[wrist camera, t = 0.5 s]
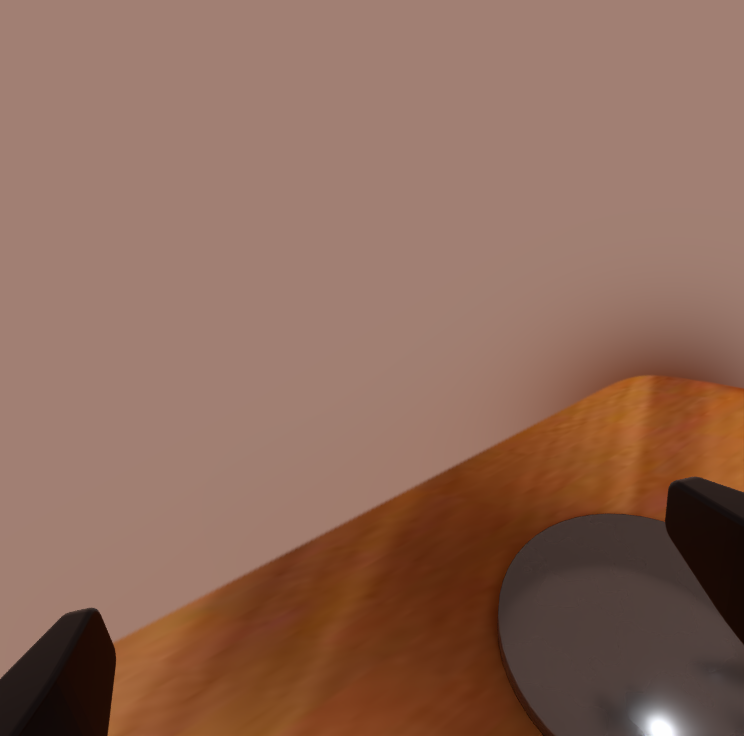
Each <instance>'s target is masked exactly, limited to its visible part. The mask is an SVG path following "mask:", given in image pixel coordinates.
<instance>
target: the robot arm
mask: <svg viewBox="0 0 744 736" xmlns="http://www.w3.org/2000/svg"><path fill="white" fill-rule="evenodd" d="M665 525H666V530H667V533H668V535H669V537H670V539H671V540H672V542H673V543H674V545H675V546H676V548H677V550H678V551H679V553H680V554H681V556H682V557H683V559H684V560H685V562H686V563H687V565H688V566H689V568H690V569H691V571H692V572H693V574H694V575H695V577H696V579H697V580H698V582H699V583H700V585H701V586H702V588H703V589H704V591H705V592H706V594H707V595H708V597H709V598H710V600H711V601H712V603H713V604H714V606H715V607H716V609H717V610H718V612H719V613H720V615H721V616H722V617H723V619H724V620H725V622H726V623H727V624H728V626H729V627H730V628H731V629H732V631H733V632H734V633H735V635H736V636H737V637H738V638H739V640H740V641H741V642H742V643H743V645H744V492H741V491H738V490H735V489H732V488H729V487H726V486H723V485H720V484H717V483H715V482H712V481H709V480H706V479H703V478H700V477H690V478H685V479H680V480H676V481H674V482H672V483H671V484H670V486H669V489H668V497H667V507H666V517H665ZM115 667H116V653H115V648H114V645H113V643H112V640H111V638H110V636H109V633H108V631H107V628H106V626H105V624H104V621H103V619H102V616H101V614H100V613H99V611H98V610H97V609H95V608H87V609H82V610H77V611H73V612H69V613H67V614H65V615H63V616H62V617H61V618H60V619H59V620H58V621H57V622H56V623H55V624H54V625H53V626H52V627H51V628H50V629H49V630H48V631H47V632H46V633H45V634H44V635H43V636H42V637H41V638H40V639H39V640H38V641H37V642H36V643H35V644H34V645H33V646H32V647H31V648H30V649H29V650H28V651H27V652H26V653H25V654H24V655H23V656H22V657H21V658H20V659H19V660H18V661H17V662H16V664H14V665H13V667H11V668H10V670H9V671H8V672H7V673H6V674H5V675H4V676H3V677H2V678H1V679H0V736H108V727H109V719H110V710H111V701H112V693H113V684H114V676H115Z"/></svg>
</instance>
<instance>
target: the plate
mask: <svg viewBox="0 0 744 736" xmlns="http://www.w3.org/2000/svg"><path fill="white" fill-rule="evenodd" d="M497 627H498V642H499V647H500V652H501V657H502V661H503V664H504V667H505V670H506V673H507V676H508V679H509V681H510V683H511V686H512V688H513V690H514V692H515V694H516V696H517V698H518V700H519V701H520V703H521V705H522V706H523V708H524V709H525V711H526V713H527V714H528V716H529V718H530V719H531V720H532V721H533V723H534V724H535V725H536V726H537V728H538V729H539V730H540V732H541V733H542V734H543V735H544V736H744V645H743V643H742V642H741V641H740V640H739V638H738V637H737V636H736V635H735V633H734V632H733V631H732V629H731V628H730V627H729V626H728V624H727V623H726V622H725V620H724V619H723V617H722V616H721V615H720V613H719V612H718V610H717V609H716V607H715V606H714V604H713V603H712V601H711V600H710V598H709V597H708V595H707V594H706V592H705V591H704V589H703V588H702V586H701V585H700V583H699V582H698V580H697V579H696V577H695V575H694V574H693V572H692V571H691V569H690V568H689V566H688V565H687V563H686V562H685V560H684V559H683V557H682V556H681V554H680V553H679V551H678V550H677V548H676V546H675V545H674V543H673V542H672V540H671V539H670V537H669V535H668V533H667V530H666V525H665V522H663V521H659V520H655V519H651V518H646V517H641V516H634V515H626V514H596V515H587V516H582V517H576V518H573V519H569V520H566V521H563V522H560V523H558V524H556V525H553V526H551V527H549V528H547V529H546V530H544V531H542V532H541V533H539V534H538V535H536V536H535V537H534V538H532V539H531V540H530V541H529V542H528V543H527V544H525V546H524V547H523V548H522V549H521V550H520V551H519V552H518V554H517V555H516V556H515V558H514V560H513V561H512V563H511V564H510V566H509V568H508V570H507V573H506V575H505V578H504V580H503V584H502V588H501V592H500V597H499V610H498V623H497Z"/></svg>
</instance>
